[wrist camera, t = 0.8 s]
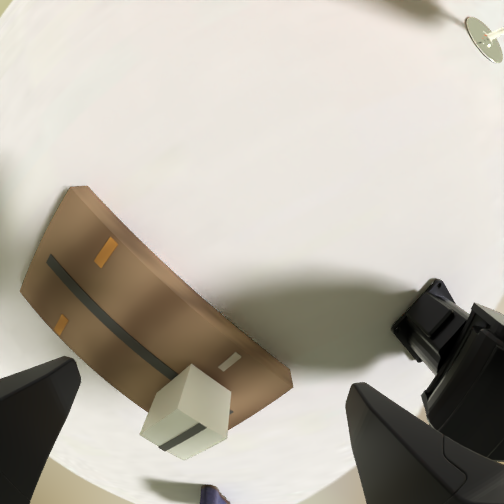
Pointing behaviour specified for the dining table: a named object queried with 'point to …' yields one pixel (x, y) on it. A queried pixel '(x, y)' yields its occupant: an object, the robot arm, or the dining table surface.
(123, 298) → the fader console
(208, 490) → the flask
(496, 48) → the wineglass
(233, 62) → the dining table surface
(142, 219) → the dining table surface
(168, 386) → the fader knob
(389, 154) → the dining table surface
